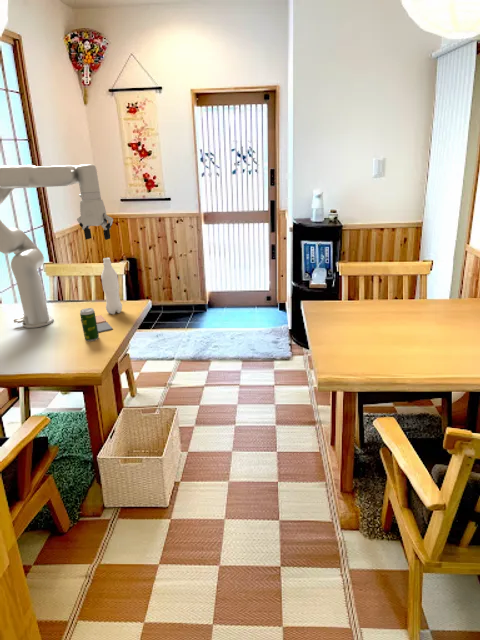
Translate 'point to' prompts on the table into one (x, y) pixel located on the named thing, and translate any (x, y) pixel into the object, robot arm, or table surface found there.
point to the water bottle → (111, 287)
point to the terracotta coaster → (99, 319)
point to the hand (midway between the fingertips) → (98, 239)
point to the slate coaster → (104, 327)
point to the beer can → (89, 324)
